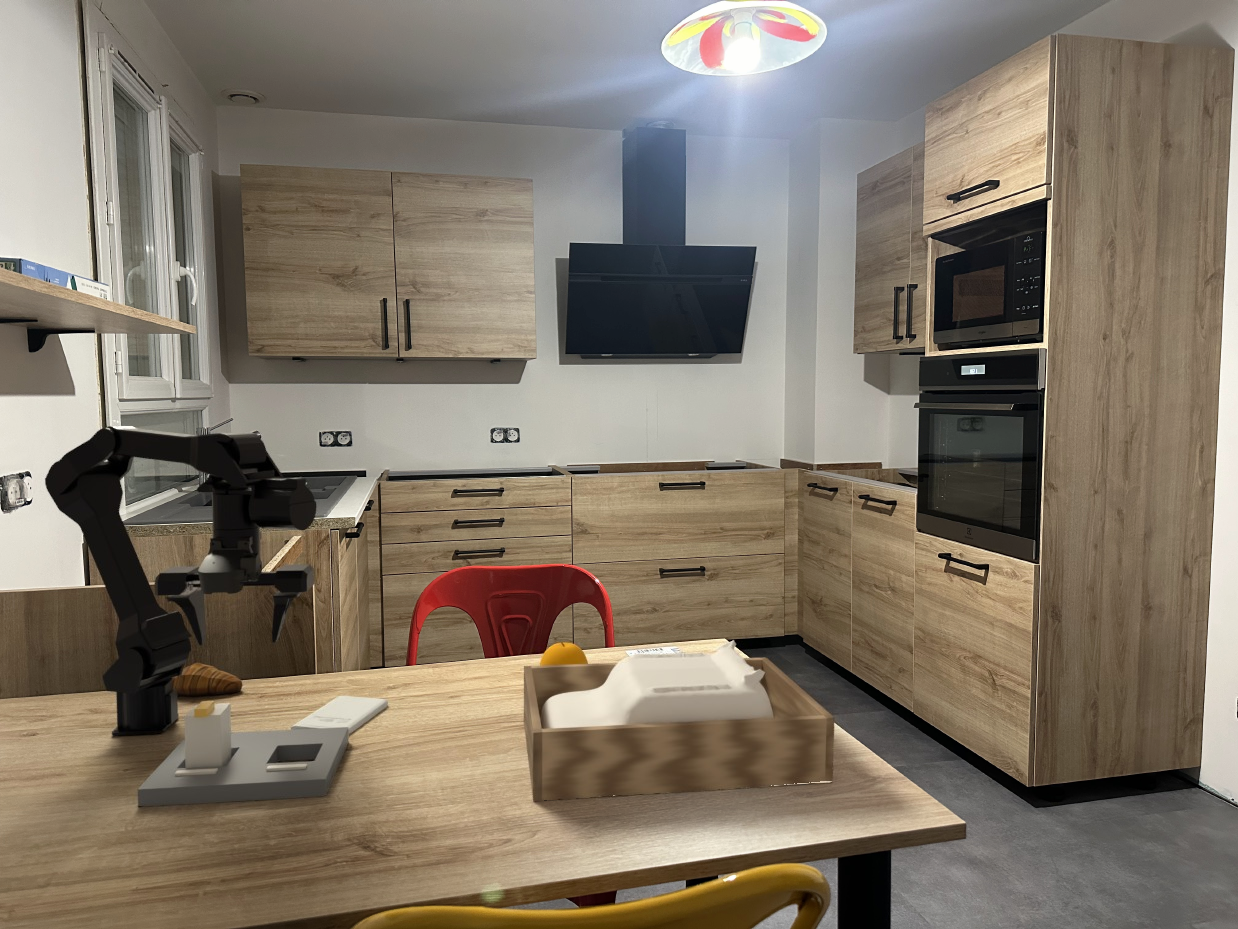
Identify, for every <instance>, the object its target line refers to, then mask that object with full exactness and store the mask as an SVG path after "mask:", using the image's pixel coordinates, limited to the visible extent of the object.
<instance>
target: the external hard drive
mask: <svg viewBox="0 0 1238 929" xmlns="http://www.w3.org/2000/svg"><path fill="white" fill-rule="evenodd" d="M388 704H389V700H388V699H385V698H378V697H377V698H376V697H375V698H374V697H366V696H365V697H363V696H352V695H351V696H349V695H348V696H347V695H339V696H337V697H335V698H333V699H332V700H330V701H329V702H328V703H326V704H324V705H323V706H321V707H320V708H318V709H317V710H315V711H313V712H312V713H310V714H308V715H307V716H306V717H304V718H303V719H301V720H299V721H298V722H297V723H294V724H293V725H292V726H290V730H296V729H317V728H339V727H348V736H349V735H350V734H352V733H353V732H354V731H355V730H357V729H358V728H360V727H361V726H363V725H364V724H365V723H367V722H368V721H369V720H370V719H372V718H373V717H375V716H376V715H378V714H379V713H381V712H382V711H383V710H384V709H386V708H387V707H388V706H389V705H388Z"/></svg>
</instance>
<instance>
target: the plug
mask: <svg viewBox="0 0 1238 929" xmlns="http://www.w3.org/2000/svg"><path fill="white" fill-rule="evenodd" d="M231 713H232V711H231V703H230V702H223V703H215V700H202V701H200V703H199V704H194V705H193V707H192V708H191V709H190V710H189V711H188V712H187V713H186V714H185V715H184V718H183V719H184V720H183V721H184V739H185V766H186V768H194V767H213V766H226V765H227V764H228V763H229V761H230V760H231V732H232V720H231V718H232V717H231Z"/></svg>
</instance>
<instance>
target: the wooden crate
mask: <svg viewBox="0 0 1238 929" xmlns="http://www.w3.org/2000/svg"><path fill="white" fill-rule="evenodd" d="M743 658H744V657H743ZM744 660H745V661H746V663H747V664H748V665H749V666H751V667H753V668H754V671H757V670H759V669H761V670H762V671H764V672H765V674H764V676H763V678H762V679H761V680H760V681H759V683H760V684H761V685H762V686H763V687H764V689H765V691H766V693H767V695H768V698H769V701H770V704H771V708H772V712H773V717H774V718H757V719H736V720H716V721H695V722H674V723H654V724H633V725H612V726H592V727H571V728H550V729H542V727H541V722H540V717H541V712H542V708H543V706H544V704H545V702H546V701H547V700H548V699H549V698H550V697H552V696H555V695H558V694H562V693H568V692H577V691H587V690H593V689H596V688H599V687H601V686H602V685H603V684H604V683H605V682H606V680H607V678H608V676H609V674H610V673H611V671H612V670H613V668H614V667H615V666H616V665H617V664H618V663H619V662H604V663H601V662H600V663H588V664H573V665H545V666H540V665H528V666H527V665H526V666H525V665H524V666H523V726H524V727H523V728H524V735H525V742H526V751H527V760H528V767H529V768H528V769H529V775H530V776H529V777H530V778H529V780H530V784H531V785H530V786H531V794H532V795H533V796H532V802H545V801H544V800H547V801H559V800H558V799H563V800H574V799H575V800H577V799H576V798H579V799H591V798H590V797H596V798H600V797H599V796H612V797H614V796H613V795H628V796H635V795H634V794H644V795H654V794H653V793H660V794H668V793H667V792H677V793H687V791H693V792H704V791H705V790H706V792H707V791H708V790H709V791H720V790H721V789H725V790H735V789H734V788H741V789H750V788H749V787H757V788H763V787H762V786H771V785H772V786H774V785H784V784H786V785H787V784H794V783H795V784H797V783H809V782H810V783H811V782H820V781H833V782H834V754H835V753H834V752H835V751H834V750H835V749H834V748H835V747H834V746H835V718H836V717H834V715H832V714H831V713H830V712H828V711H827V709H825V708H824V707H823V706H822V705H821V704H820V703H818V702H817V701H816V700H815V699H814V698H813V697H812V696H810V694H808V693H807V692H806V691H805V690H804V689H802V688H801V687H800V686H799V685H798V684H797V683H795V681H793V680H792V679H791V678H790V677H789V676H788V675H787V674H785V672H784V671H782V670H781V669H780V668H779V667H778V666H777V665H776V664H774V663H773V662H772V661H771V660H769V658H767V657H745V658H744ZM746 787H747V788H746ZM774 787H775V786H774ZM731 788H733V789H731ZM718 789H720V790H718ZM701 790H702V791H701ZM683 791H684V792H683ZM721 791H722V790H721ZM649 793H650V794H649Z"/></svg>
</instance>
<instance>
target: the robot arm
mask: <svg viewBox="0 0 1238 929" xmlns="http://www.w3.org/2000/svg"><path fill="white" fill-rule="evenodd" d="M134 458H138V459H147V460H154V461H163V462H170V463H180V464H185V465H187V466H190V467H191V468H193V469H195V470H196V471H198V472H200V473H203V474H206V475H208V477H207V479H206V480H205V481H204V482H203V483H201V484H200V485H199V486H198V487H197V488H196V491H197V493H200V494H211V512H212V513H211V514H212V516H211V518H212V537H211V538H210V541H209V550H208V553H207V556H205V557H204V559H203V561H202V562H201V564H200V565H199V566H198V565H197V566H172V567H170V568H167V569H165V570H163V571H161V572H160V573H159V574H157V575H156V576H155V578H154V579H155V580H154V591H153V590H152V587H151V585H150V583H149V580H148V578H147V575H146V573H145V571H144V568H143V566H142V563H141V561H140V559H139V557H138V554H137V552H136V549H135V547H134V544H133V543H132V540H131V538H130V536H129V533H128V531H127V528H126V526H125V523H124V521H123V519H122V517H121V516H122V515H121V514H120V510H121V505H122V499H123V494H124V490H123V487H122V484H121V480H122V479H123V478H125V476H126V475H127V474H128V473H129V472H130V471H131V469H132V465H133V460H134ZM44 484H45V487H46V491H47V492H48V495H49V496H50V497H51V499H52V501H53V502H54V504H55V506H56V507H57V509H58V511H59V512H61V513H62V514H63V515H65V516H66V517H68V518H69V519H70V520H72V521H73V522H75V523H76V524H77V525H78V526H79V528H80V530H81V532H82V535H83V537H84V539H85V540H84V541H85V542H86V544H87V547H88V549H89V551H90V553H91V556H92V558H93V561H94V563H95V565H96V568H97V570H98V572H99V576H100V578H101V579H102V582H103V584H104V587H105V590H106V592H107V594H108V596H109V599H110V601H111V603H112V605H113V608H114V611H115V613H116V616H117V618H118V621H119V622H118V628H117V633H116V638H115V647H116V650H117V655H118V658H117V659H116V660H115V662H114V663H113V664H112V665H111V666H110V667H109V668H108V669H107V670H106V671H105V673H104V674H103V675H102V681H103V684H104V687H105V690H106V691H107V692H111V693H115V696H116V727H115V728H114V729H113V730H112V731H111V736H129V735H133V736H134V735H150V734H151V735H152V734H153V735H154V734H163V733H164V732H165V731H166V730H167V729H168V728H169V727H170V726H172V724H173V723H174V722H176V720H177V719H178V718H179V711H178V710H179V708H178V705H179V704H178V695H177V690H176V689H173V677H176V676H180V675H182V672H183V669H184V668H185V664H186V662H187V660H188V659H189V656H190V653H191V652H192V644H191V640H190V638H192V634H191V633H190V631H189V630H188V629H187V627H186V625H185V624H186V623H185V621H184V617H183V614H185V617H186V618H187V620H188V622H189V624H190V628H191V629H192V632H193V634H194V636H195V639H196V641H197V643H198V645H199V646H203V645H204V644H205V642H206V634H207V633H206V629H207V628H206V627H207V626H206V625H207V624H206V607H205V606H206V605H205V603H206V602H205V595H212V594H214V593H215V594H217V593H218V594H219V593H221V594H222V593H227V594H228V595H233V594H238V593H240V592H241V591H243V589H244V587H259V586H261V587H263V586H265V587H266V586H268V587H269V586H270V587H271V586H272V587H275V589H277V592H275V594H273V595H272V600H273V601H272V602H273V613H272V614H273V615H272V625H271V626H272V627H271V639H272V640H271V641H272V643H273V644H275V643H277V642H278V641H279V640H278V639H279V637H280V634H281V631H282V629H283V626H284V623H285V620H286V617H287V614H288V611H289V610H290V607H291V605H292V603H293V601H294V599H297V598H298V597H299V596H300V595H302V593H304V592H305V593H306V592H308V591H309V590H310V589H311V588H312V587H313V586H314V585H315V584H316V581H315V580H316V579H315V578H316V577H315V575H316V574H315V573H316V572H315V569H314V568H313V566H312V565H311V564H284V565H282V566H281V567H280V568H278V569H277V570H276V571H263V562H262V560H261V540H262V531H261V529H265V530H285V531H306V530H308V529H309V528H310V527H311V526H312V524H313V523H314V521H315V518H316V514H317V501H315V496H314V495H313V492H312V491H311V489H310V488H308V487H307V479H306V477H293V478H292V477H291V478H290V477H289V478H285V477H284V475H283V474H282V472H281V470H280V469H279V468H278V466H277V465H276V463H275V461H274V459H272V457H271V455H270V454H269V452H268V451H267V447H266V446H265V443H264V441H263V439H262V437H261V436H260V435H259V434H257V433H255V432H250V431H249V432H247V431H246V432H244V431H243V432H220V433H217V432H216V433H206V434H205V433H203V434H189V433H188V434H187V433H180V432H172V431H162V430H154V429H153V430H152V429H147V428H146V429H144V428H137V427H134V426H132V425H110V426H104V427H103V428H100V429H98V430H97V431H96V432H95V433H94V434H93V435H92V436H91V438H90V439H88V440H86V441H85V442H83V443H81V444H80V445H78V446H76V447H75V448H73V449H71V450H70V451H69V450H68V452H66V453H65V454H64V455H63V456H62V457H61V458H60V459H59V460H57V461H55V462H54V463H53V464H52V465H51V466H50V468H49V469H48V472H47V474H46V476H45V478H44ZM155 596H158V597H160V596H166V598H165V599H166V602H172V603H173V602H174V603H175V604H176V605H177V606H178V607H180V608H181V610H182V612H183V614H182V613H181V612H180V611H178V610H175V611H172V612H168V611H166V610H165V609H164V608H163V607H161V606H160V605H159V603H158V601H157V599H156V597H155Z"/></svg>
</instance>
